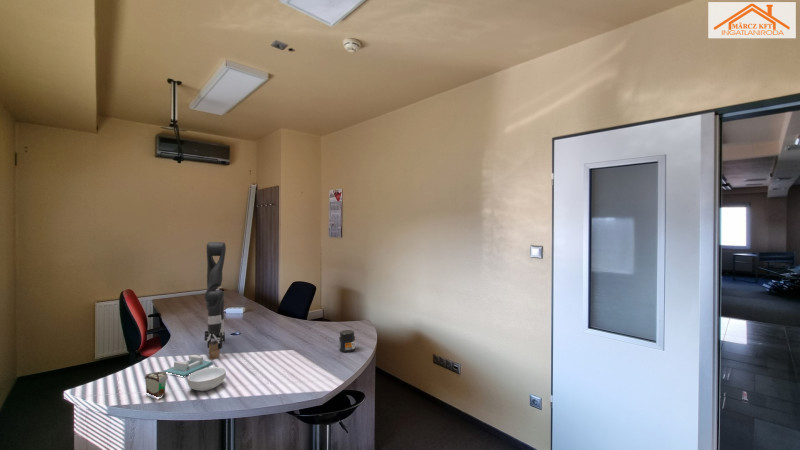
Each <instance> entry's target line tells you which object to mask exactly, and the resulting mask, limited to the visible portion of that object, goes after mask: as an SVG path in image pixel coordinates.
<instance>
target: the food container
mask: <svg viewBox="0 0 800 450" xmlns="http://www.w3.org/2000/svg"><path fill="white" fill-rule="evenodd" d="M144 379H145V391H146V392H145V394H146V393H149V394H151V395H154V396H156V397H161V396H162V395H164V394H165V395H166V387H167V386H166V385H167V380H168V379H169V375H167V374H166V372H163V371H156V372H151V373H147V374H145V375H144ZM165 395H164V396H165Z"/></svg>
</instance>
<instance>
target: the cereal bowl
mask: <svg viewBox="0 0 800 450" xmlns="http://www.w3.org/2000/svg"><path fill="white" fill-rule="evenodd" d="M226 372H227V370H226V369H225V368H224V367H219V366H217V367H214V366H213V367H206V368H204V369H201V370H198V371H196V372H194V373H192V374H190V375H189V376H187V384H188V386H189V387H190V389H192V390H194V391H199V390H200V391H199V392H206V391H210V390H213V389H214V388H216V387H218V386H220V385H221V384H222V383H223V381H225V379H226Z"/></svg>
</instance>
